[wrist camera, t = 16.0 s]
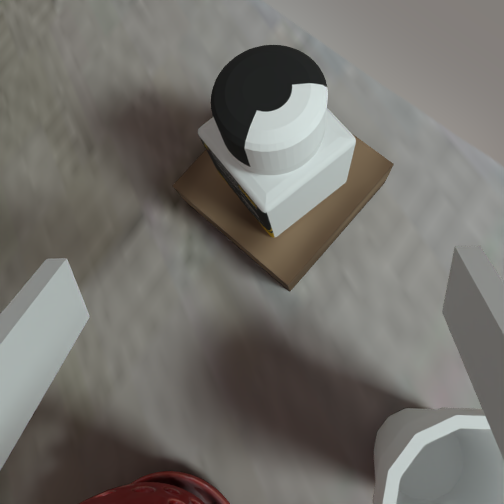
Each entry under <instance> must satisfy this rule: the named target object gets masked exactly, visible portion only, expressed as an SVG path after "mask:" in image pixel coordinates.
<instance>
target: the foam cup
mask: <svg viewBox="0 0 504 504" xmlns="http://www.w3.org/2000/svg"><path fill="white" fill-rule="evenodd" d="M374 468H375V490H374V495H373V504H504V460H503V457H502V455H501V452H500V450H499V448H498V445H497V443H496V440H495V438H494V436H493V433H492V431H491V428H490V426H489V424H488V421H487V419H486V416H485V414H484V411H483V409H470V408H440V409H438V410H437V409H416V408H405V409H403V410H401V411H399V412H397V413H395V414H393V415H390V416H388V418H387V419H386V420H385V422H384V423H383V424H382V426H381V427H380V428H379V430H378V431H377V435H376V441H375V447H374Z"/></svg>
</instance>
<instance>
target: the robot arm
mask: <svg viewBox="0 0 504 504" xmlns="http://www.w3.org/2000/svg"><path fill="white" fill-rule="evenodd" d="M442 313H443V315H444V317H445V320H446V322H447V325H448V327H449V330H450V332H451V334H452V337H453V339H454V342H455V344H456V346H457V349H458V351H459V354H460V356H461V358H462V361H463V363H464V366H465V368H466V370H467V373H468V375H469V378H470V380H471V383H472V385H473V387H474V390H475V392H476V395H477V397H478V399H479V402H480V404H481V407H482V409H483V411H484V414H485V416H486V419H487V421H488V424H489V426H490V428H491V431H492V433H493V436H494V438H495V440H496V443H497V445H498V448H499V450H500V452H501V455H502V457H503V460H504V282H503V280H502V279H501V277H500V276H499V274H498V272H497V271H496V269H495V268H494V266H493V265H492V263H491V262H490V260H489V258H488V257H487V255H486V254H485V252H484V251H483V249H482V248H481V246H455V248H454V253H453V259H452V264H451V269H450V274H449V280H448V285H447V290H446V295H445V300H444V306H443V311H442ZM89 317H90V316H89V313H88V311H87V308H86V306H85V303H84V301H83V298H82V295H81V293H80V290H79V288H78V285H77V283H76V280H75V278H74V275H73V272H72V270H71V267H70V265H69V262H68V260H67V258H54V259H46V260H45V261H44V263H43V264H42V265H41V266H40V267H39V269H38V270H37V271H36V272H35V273H34V274H33V276H32V277H31V278H30V279H29V280H28V282H27V283H26V284H25V285H24V286H23V288H22V289H21V290H20V291H19V292H18V294H17V295H16V296H15V297H14V298H13V300H12V301H11V302H10V303H9V304H8V306H7V307H6V308H5V309H4V310H3V312H2V313H1V314H0V470H1V469H2V467H3V465H4V464H5V462H6V460H7V458H8V457H9V455H10V453H11V451H12V450H13V448H14V446H15V445H16V443H17V441H18V439H19V438H20V436H21V434H22V433H23V431H24V429H25V427H26V426H27V424H28V422H29V420H30V419H31V417H32V415H33V414H34V412H35V410H36V408H37V407H38V405H39V403H40V402H41V400H42V398H43V396H44V395H45V393H46V391H47V389H48V388H49V386H50V384H51V383H52V381H53V379H54V377H55V376H56V374H57V372H58V370H59V369H60V367H61V365H62V364H63V362H64V360H65V358H66V357H67V355H68V353H69V352H70V350H71V348H72V346H73V345H74V343H75V341H76V339H77V338H78V336H79V334H80V333H81V331H82V329H83V327H84V326H85V324H86V322H87V320H88V319H89Z"/></svg>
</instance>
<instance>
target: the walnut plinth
mask: <svg viewBox="0 0 504 504" xmlns="http://www.w3.org/2000/svg"><path fill="white" fill-rule="evenodd" d="M351 134H352V133H351ZM352 135H353V134H352ZM353 136H354V135H353ZM354 137H355V139H356V144H355V148H354V152H353V156H352V160H351V165H350V169H349V173H348V177H347V181H346V182H345V184H343V185H342V186H341V187H339V188H338V189H337V190H336V191H334V192H333V193H332V194H331V195H329V196H328V197H327V198H326V199H324V200H323V201H322V202H320V203H319V204H318V205H317V206H315V207H314V208H313V209H312V210H310V211H309V212H308V213H306V214H305V215H304V216H303V217H301V218H300V219H299V220H298V221H296V222H295V223H294V224H293V225H291V226H290V227H289V228H287V229H286V230H285V231H284V232H282V233H281V234H280V235H279V236H277V237H275V238H273V237H271V236H270V235H269V234H268V233H267V231H266V230H265V229H264V228H263V227H262V225H261V224H260V223H259V222H258V221H257V219H256V218H255V217H254V216H253V214H252V213H251V212H250V211H249V210H248V208H247V207H246V206H245V205H244V203H243V202H242V201H241V200H240V199H239V197H238V196H237V195H236V194H235V192H234V191H233V190H232V189H231V188H230V186H229V185H228V184H227V183H226V182H225V180H224V179H223V178H222V177H221V175H220V174H219V173H218V171H217V169H216V167H215V165H214V163H213V161H212V159H211V158H210V156H209V154H208V152H207V150H205V151H204V152H203V153H202V154H201V155H200V156H199V157H198V158H197V160H196V161H195V162H194V163H193V164H192V165H191V166H190V167H189V168H188V169H187V170H186V172H185V173H184V174H183V175H182V176H181V177H180V178H179V179H178V180H177V181H176V182H175V184H174V185H173V187H174V189H175V190H176V191H177V192H178V193H179V194H180V195H181V197H182V198H183V199H184V200H185V201H186V202H187V203H188V204H189V205H190V206H192V207H193V208H194V209H195V210H196V211H197V212H199V213H200V214H201V215H202V216H203V217H204V218H205V219H207V220H208V221H209V222H210V223H211V224H212V225H214V226H215V227H216V228H217V229H218V230H219V231H221V232H222V233H223V234H224V235H225V236H226V237H227V238H229V239H230V240H231V241H232V242H233V243H234V244H236V245H237V246H238V247H239V248H240V249H241V250H243V251H244V252H245V253H246V254H247V255H248V256H250V257H251V258H252V259H253V260H254V261H255V262H256V263H258V264H259V265H260V266H261V267H262V268H263V269H265V270H266V271H267V272H268V273H269V274H270V275H272V276H273V277H274V278H275V279H276V280H277V281H279V282H280V283H281V284H282V285H283V286H284V287H285V288H287V289H288V290H289V291H291V290H292V289H293V288H294V286H295V285H296V284H297V283H298V282H299V281H300V280H301V278H302V277H303V276H304V275H305V274H306V273H307V271H308V270H309V269H310V268H311V267H312V266H313V265H314V263H315V262H316V261H317V260H318V259H319V258H320V257H321V255H322V254H323V253H324V252H325V251H326V250H327V249H328V247H329V246H330V245H331V244H332V243H333V242H334V240H335V239H336V238H337V237H338V236H339V235H340V234H341V232H342V231H343V230H344V229H345V228H346V227H347V226H348V224H349V223H350V222H351V221H352V220H353V219H354V217H355V216H356V215H357V214H358V213H359V212H360V211H361V209H362V208H363V207H364V206H365V205H366V204H367V203H368V201H369V200H370V199H371V198H372V197H373V196H374V195H375V193H376V192H377V191H378V190H379V189H380V188H381V186H382V185H383V184H384V183H385V181H386V179H387V177H388V175H389V173H390V171H391V169H392V167H393V163H392V162H390V161H389V160H387V159H386V158H385V157H383V156H382V155H381V154H379V153H378V152H376V151H375V150H374V149H372V148H371V147H369V146H368V145H367V144H365V143H364V142H363V141H361V140H360V139H358V138H357V137H356V136H354Z"/></svg>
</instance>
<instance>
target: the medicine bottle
mask: <svg viewBox="0 0 504 504" xmlns="http://www.w3.org/2000/svg"><path fill="white" fill-rule="evenodd" d="M327 99H328V91H327V84H326V80H325V78H324V75H323V73H322V71H321V70H320V68H319V67H318V65H317V64H316V63H315V62H314V61H313V60H312V59H311V58H310V57H309V56H307V55H306V54H304V53H303V52H301V51H299V50H296V49H294V48H291V47H287V46H281V45H265V46H260V47H255V48H252V49H249V50H247V51H245V52H243V53H241V54H239V55H238V56H236V57H235V58H234V59H232V60H231V61H230V62H229V63H228V64H227V65H226V66H225V67H224V68H223V70H222V71H221V72H220V74H219V75H218V77H217V79H216V81H215V84H214V86H213V90H212V95H211V109H212V113H213V117H212V118H211V119H210V120H209V121H207V122H206V123H205V124H203V125H202V126H201V127H200V128H199V129H198V135H199V137H200V139H201V141H202V142H203V144H204V146H205V148H206V150H207V152H208V154H209V156H210V158H211V159H212V161H213V163H214V165H215V167H216V169H217V171H218V173H219V174H220V175H221V177H222V178H223V179H224V180H225V182H226V183H227V184H228V185H229V186H230V188H231V189H232V190H233V191H234V192H235V194H236V195H237V196H238V197H239V199H240V200H241V201H242V202H243V203H244V205H245V206H246V207H247V208H248V210H249V211H250V212H251V213H252V214H253V216H254V217H255V218H256V219H257V221H258V222H259V223H260V224H261V225H262V227H263V228H264V229H265V230H266V231H267V233H268V234H269V235H270V236H271V237H273V238H275V237H277V236H279V235H280V234H281V233H282V232H284V231H285V230H286V229H287V228H289V227H290V226H291V225H293V224H294V223H295V222H296V221H298V220H299V219H300V218H301V217H303V216H304V215H305V214H306V213H308V212H309V211H310V210H312V209H313V208H314V207H315V206H317V205H318V204H319V203H320V202H322V201H323V200H324V199H326V198H327V197H328V196H329V195H331V194H332V193H333V192H334V191H336V190H337V189H338V188H339V187H341V186H342V185H343V184H345V182H346V181H347V177H348V173H349V169H350V165H351V160H352V156H353V152H354V148H355V144H356V139H355V137H354V136H353V135H352V134H351V133H350V131H349V130H348V129H347V128H346V127H345V126H344V125H343V124H342V123H341V122H340V121H339V120H338V119H337V118H336V117H335V116H334V115H333V114H332V112H331V111H330V110H329V109H328V108H327Z"/></svg>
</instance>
